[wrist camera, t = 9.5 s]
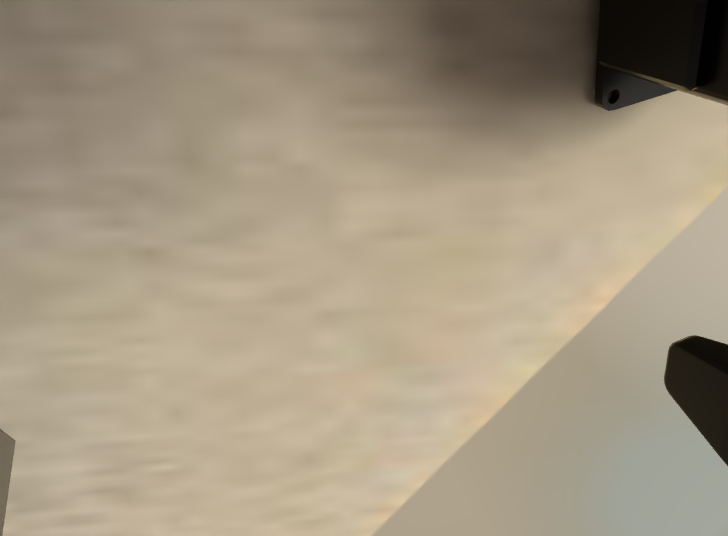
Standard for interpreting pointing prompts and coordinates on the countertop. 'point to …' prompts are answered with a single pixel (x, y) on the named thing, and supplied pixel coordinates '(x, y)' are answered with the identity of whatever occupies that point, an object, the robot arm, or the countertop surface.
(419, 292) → the countertop surface
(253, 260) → the countertop surface
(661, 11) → the robot arm
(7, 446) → the grey cube
